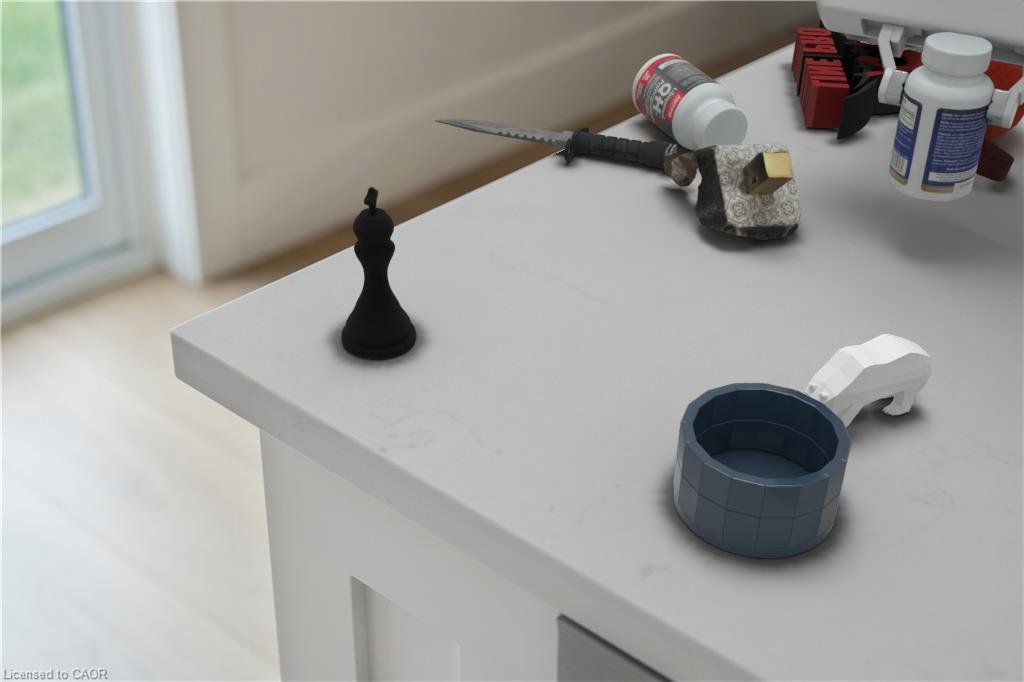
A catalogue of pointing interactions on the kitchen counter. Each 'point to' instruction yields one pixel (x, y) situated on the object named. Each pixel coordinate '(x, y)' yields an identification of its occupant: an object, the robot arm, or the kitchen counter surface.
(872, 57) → the extruded letter emblem
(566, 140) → the knife
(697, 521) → the bowl
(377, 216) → the chess piece
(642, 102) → the pill bottle
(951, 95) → the pill bottle
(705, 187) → the grey patterned lump
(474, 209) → the kitchen counter surface
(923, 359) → the white low-poly animal
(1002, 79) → the apple
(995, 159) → the watch
